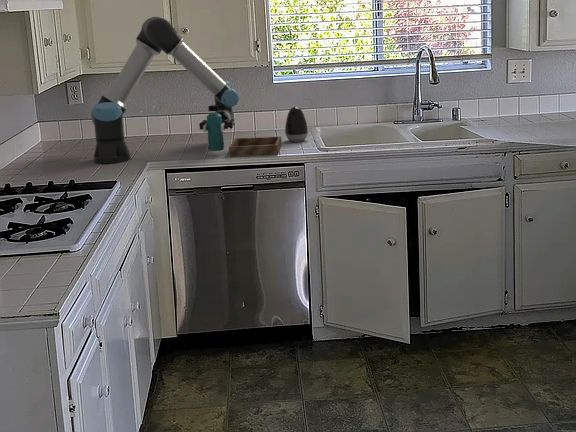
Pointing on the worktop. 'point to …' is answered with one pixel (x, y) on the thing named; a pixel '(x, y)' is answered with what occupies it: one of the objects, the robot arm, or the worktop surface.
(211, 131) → the beverage bottle
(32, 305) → the worktop surface
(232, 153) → the walnut tray
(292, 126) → the egg on grey base
